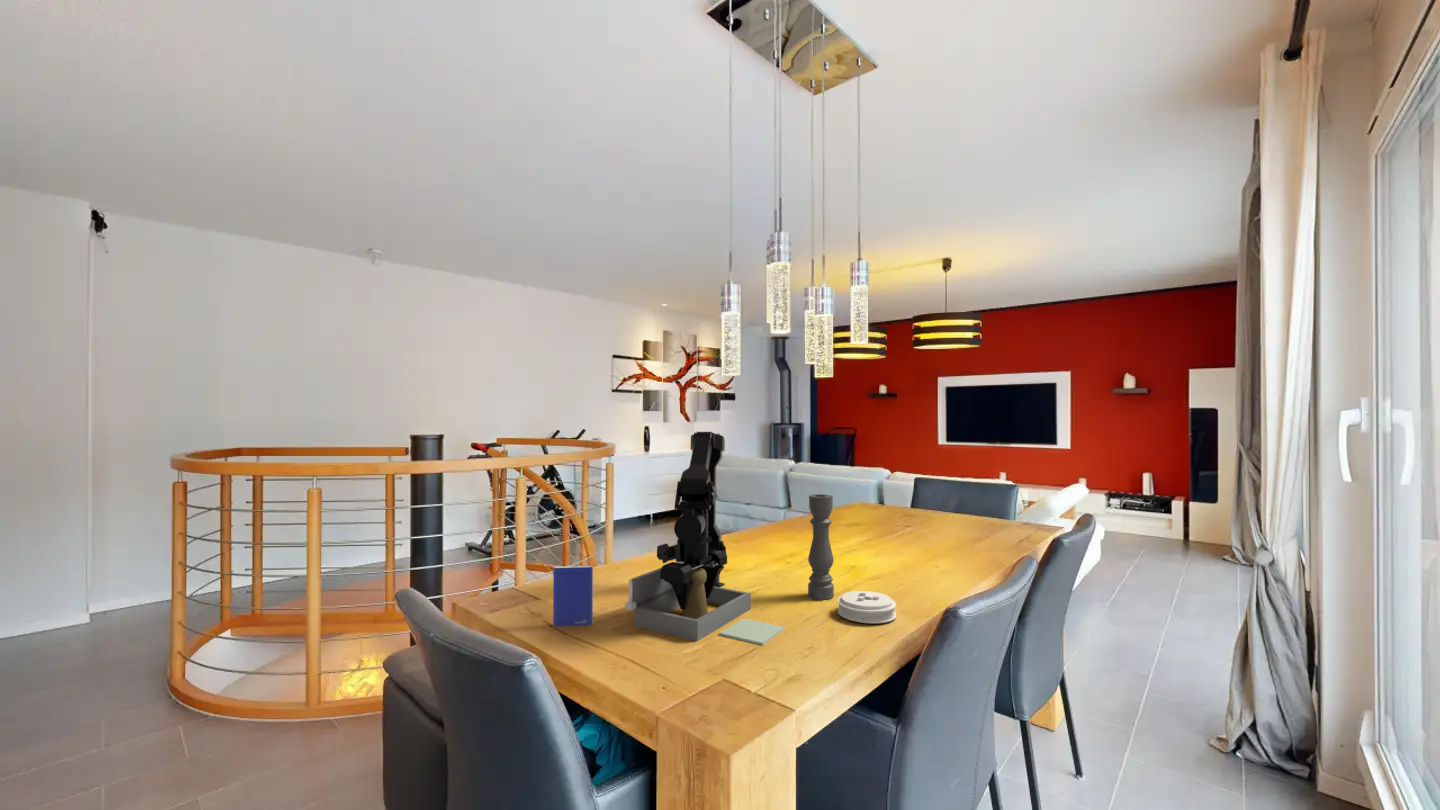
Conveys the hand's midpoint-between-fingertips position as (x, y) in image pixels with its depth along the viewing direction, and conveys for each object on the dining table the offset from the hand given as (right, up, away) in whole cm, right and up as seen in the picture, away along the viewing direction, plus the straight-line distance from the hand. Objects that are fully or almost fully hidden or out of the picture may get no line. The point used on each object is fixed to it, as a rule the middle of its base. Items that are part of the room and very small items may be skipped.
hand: (694, 603), depth 133 cm
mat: (+12, -3, -9) cm, 15 cm away
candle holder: (+30, -4, +14) cm, 34 cm away
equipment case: (-1, -3, 0) cm, 3 cm away
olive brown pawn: (0, -3, 0) cm, 3 cm away
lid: (+38, -4, +1) cm, 38 cm away
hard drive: (-26, -3, -4) cm, 26 cm away
